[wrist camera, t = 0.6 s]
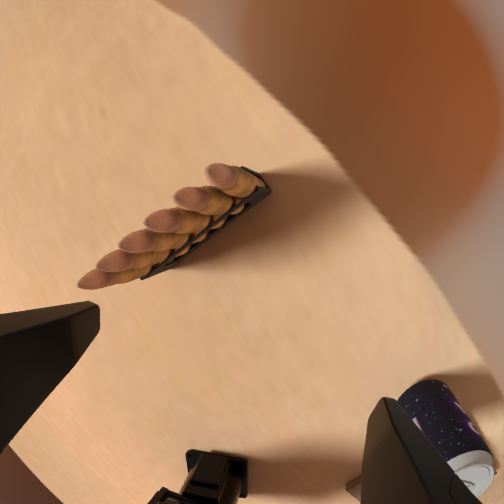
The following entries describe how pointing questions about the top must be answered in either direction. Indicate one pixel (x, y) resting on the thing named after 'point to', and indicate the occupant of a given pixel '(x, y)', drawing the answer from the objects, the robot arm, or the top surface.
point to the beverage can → (450, 432)
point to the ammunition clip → (180, 226)
